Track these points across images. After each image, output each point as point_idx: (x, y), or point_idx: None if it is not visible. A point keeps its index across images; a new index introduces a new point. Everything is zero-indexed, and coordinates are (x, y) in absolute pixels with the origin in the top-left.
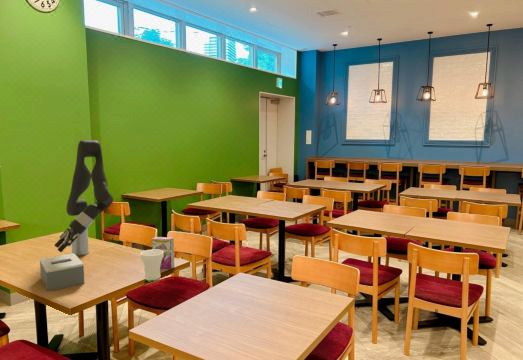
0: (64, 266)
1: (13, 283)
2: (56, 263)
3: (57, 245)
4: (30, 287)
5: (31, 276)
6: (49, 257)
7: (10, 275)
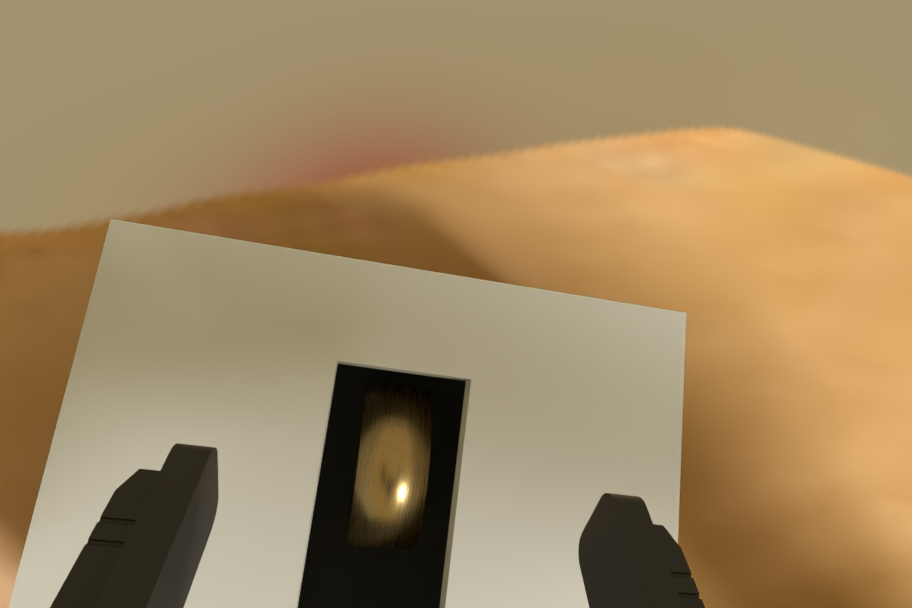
0: (86, 475)
1: (599, 145)
2: (426, 450)
3: (602, 555)
4: (409, 211)
5: (678, 296)
6: (681, 431)
7: (800, 183)
